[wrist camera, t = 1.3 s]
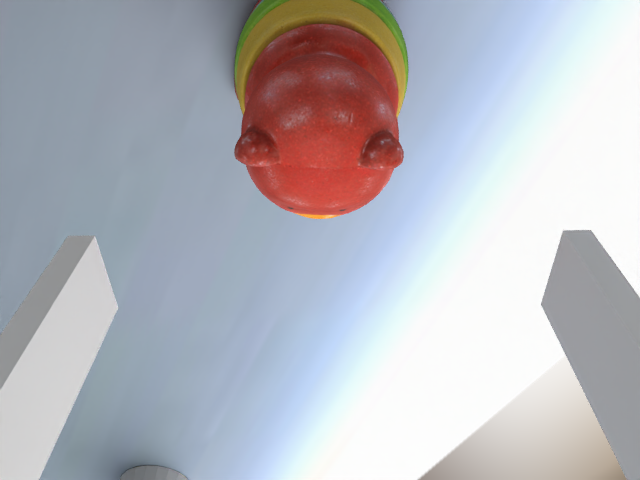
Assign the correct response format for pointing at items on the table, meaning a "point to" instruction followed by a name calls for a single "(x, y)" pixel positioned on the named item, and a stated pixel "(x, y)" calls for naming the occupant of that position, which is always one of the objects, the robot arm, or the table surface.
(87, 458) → the table surface
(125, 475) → the lava lamp
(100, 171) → the table surface
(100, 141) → the table surface
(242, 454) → the table surface
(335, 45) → the stacking bear
